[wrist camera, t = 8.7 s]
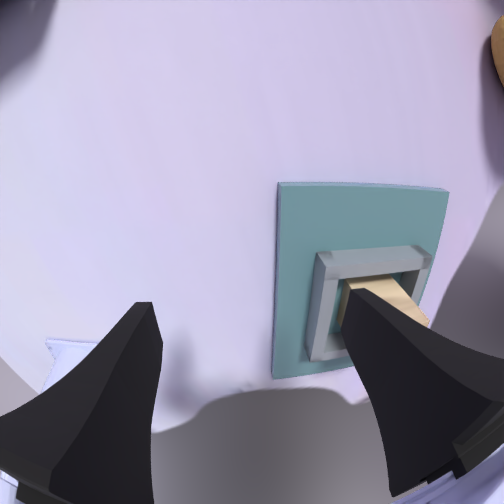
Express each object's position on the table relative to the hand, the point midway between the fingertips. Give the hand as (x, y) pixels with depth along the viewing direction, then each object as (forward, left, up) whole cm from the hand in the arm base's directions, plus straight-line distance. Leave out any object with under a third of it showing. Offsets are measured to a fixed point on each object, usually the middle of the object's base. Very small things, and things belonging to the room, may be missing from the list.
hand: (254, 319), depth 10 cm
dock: (-6, -10, -9) cm, 15 cm away
